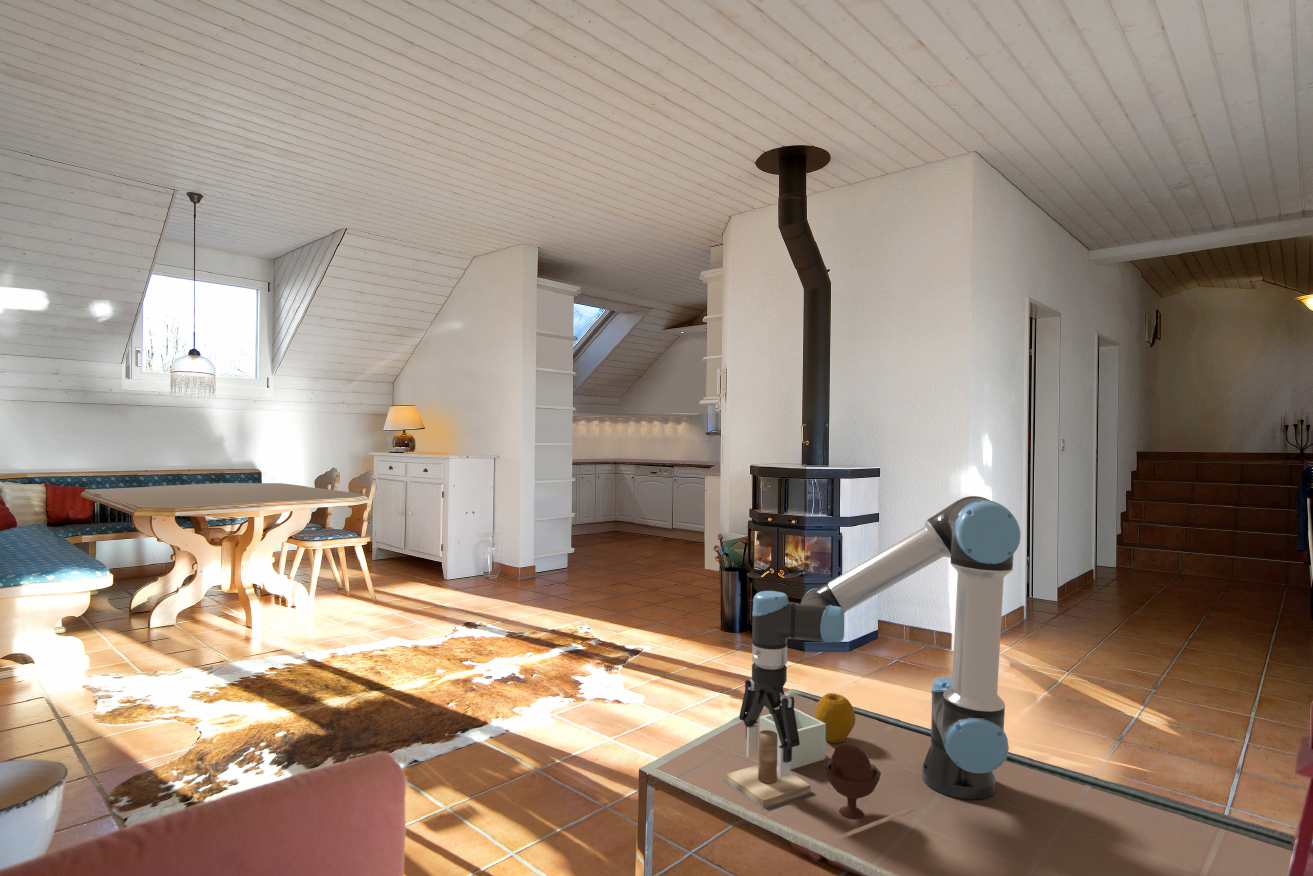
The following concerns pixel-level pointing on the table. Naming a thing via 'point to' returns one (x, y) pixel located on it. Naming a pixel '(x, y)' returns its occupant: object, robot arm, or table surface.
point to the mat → (767, 806)
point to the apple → (836, 716)
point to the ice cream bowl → (851, 777)
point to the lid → (767, 776)
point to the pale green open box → (802, 738)
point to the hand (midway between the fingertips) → (767, 765)
